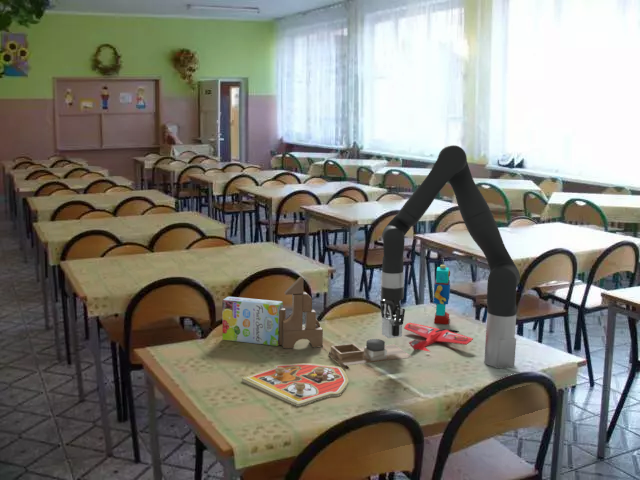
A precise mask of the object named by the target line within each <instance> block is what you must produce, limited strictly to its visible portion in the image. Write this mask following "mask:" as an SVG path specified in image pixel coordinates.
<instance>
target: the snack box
mask: <svg viewBox="0 0 640 480" xmlns="http://www.w3.org/2000/svg"><path fill="white" fill-rule="evenodd" d="M221 302H222V306H221V307H222V309H221V310H222V318H221V319H222V320H221V321H222V323H221V325H222V328H221V329H222V340H223V341H231V342H232V341H233V342H237V343H238V342H241V343H249V344H257V345H258V344H260V345H266V346H273V347H274V346H276V347H277V346H280V345H279V310H280V309H281V308H284V302H283V301H281V300H273V299H272V300H271V299H270V300H269V299H258V298H249V297H241V296H239V297H237V296H226V297H225V298H223V299H222V301H221Z"/></svg>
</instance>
